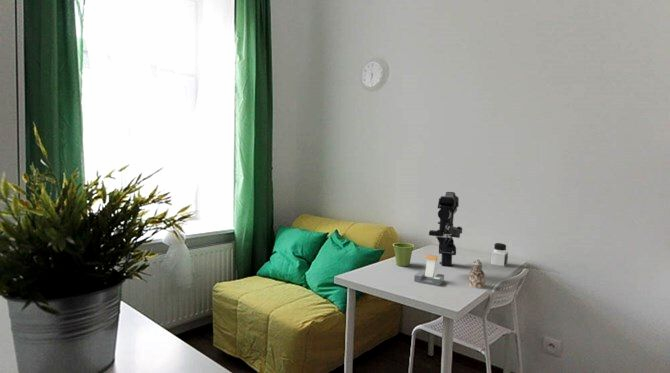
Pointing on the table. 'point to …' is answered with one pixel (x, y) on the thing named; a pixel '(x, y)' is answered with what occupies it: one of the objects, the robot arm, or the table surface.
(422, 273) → the switch housing
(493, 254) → the medicine bottle
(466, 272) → the table surface
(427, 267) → the switch lever
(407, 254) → the plant pot
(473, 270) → the figurine
